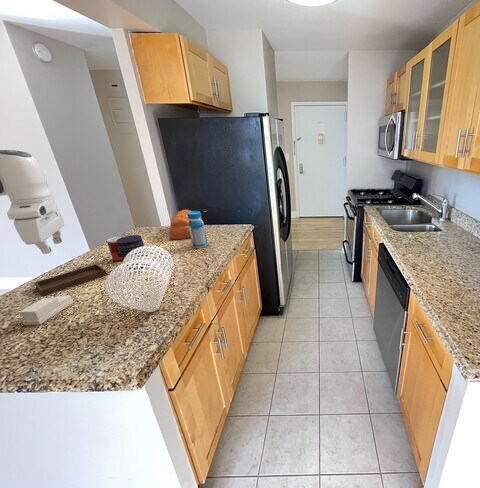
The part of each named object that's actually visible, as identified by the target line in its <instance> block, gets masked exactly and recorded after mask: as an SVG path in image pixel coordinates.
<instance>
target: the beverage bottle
mask: <svg viewBox="0 0 480 488" xmlns="http://www.w3.org/2000/svg"><path fill="white" fill-rule="evenodd" d="M187 215H188V219H189V223H188V226H189V231H190V235H191V237H190V239H191V244H192V245H191V246H192V247H193V248H194V249H201V248H205V247H207V246H209V245H208V244H209V243H208V239H207V233H206V225H205V223H204V221H203V220H202V213H201V211H199V210H194V211H193V212H189V213H187Z"/></svg>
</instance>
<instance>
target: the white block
mask: <svg viewBox="0 0 480 488" xmlns="http://www.w3.org/2000/svg"><path fill="white" fill-rule="evenodd" d="M73 303H75V302H74V299H73V298H72V295H56V296H54V297H43V298H41V299H39V300H37V301H36V302H34V303H32V304H30V305H29V306H27V307H25V308H23V309H21V310H20V311H19V313H20V316H21V317H22V319H23V320H22V321H21V323H22V324H23V325H24V326H33V325H34V326H35V325H36V326H37V325H38V326H39V325H42V324H43V323H45V322H46V321H48V320H50V319H51V318H53V317H55V315H57V314H59V313H60V312H61V311H63V310H64V309H66V308H68V307H69V306H71V305H72V304H73Z"/></svg>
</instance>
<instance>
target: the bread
mask: <svg viewBox="0 0 480 488" xmlns="http://www.w3.org/2000/svg"><path fill="white" fill-rule="evenodd" d="M189 212H193V211H192V210H191V209H182V210H179V211H177V212H176V213H175V214H174V216H173V218H172V219H171V221H170V224H169V225H170V228H169V233H168V234H169V235H168V236H169V238H170V239H172V240H184V239H189V238H190V239H191V235H190V231H189V226H188V223H189V219H188V215H187V213H189Z"/></svg>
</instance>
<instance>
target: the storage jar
mask: <svg viewBox="0 0 480 488" xmlns="http://www.w3.org/2000/svg"><path fill="white" fill-rule="evenodd" d="M142 237H143V236H142V235H140V234H132V235H127V236H126V235H125V236H123V237H122V238H119V239H117V240H116V241H117V244H118V248H119V251H120V253H121V255H122V258H123V260H124V258H125V257H126V255H127V254H128V253H129V252H131V251H132V250H134V249H136V248H139V247H142V246H145V243H144V240H143V238H142ZM144 250H146V249H144ZM137 251H138V250H137ZM141 251H142V250H141ZM135 252H136V251H135ZM132 253H134V252H132ZM139 253H141V252H139ZM139 253H138V254H139ZM142 253H143V252H142ZM135 255H137V253H135ZM132 256H133V255H132ZM132 256H131V257H132ZM142 256H144V255H141V257H142ZM145 256H148V255H145ZM137 257H140V255H139V256H137ZM135 258H136V257H135ZM128 259H129V258H128ZM130 259H131V258H130ZM137 259H139V258H137ZM144 259H147V258H144ZM133 260H135V259H133ZM128 261H129V260H128ZM129 262H130V261H129ZM124 263H125V262H124ZM135 263H136V262H135ZM139 263H141V262H139ZM143 263H145V262H143ZM148 264H149V263H148ZM128 265H129V264H128ZM128 265H127V266H128ZM133 265H134V264H132V265H131V266H133ZM136 265H139V264H136ZM142 265H143V264H142ZM144 265H145V264H144ZM146 266H147V264H146ZM148 266H150V265H148ZM132 268H133V267H132ZM136 268H137V269H138V267H136ZM140 268H141V269H143V268H144V267H140ZM140 268H139V269H140ZM145 268H146V267H145ZM125 269H126V268H125ZM130 269H131V267H129V270H130ZM146 269H147V268H146ZM133 270H136V269H135V268H134V269H133ZM126 271H127V269H126Z"/></svg>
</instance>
